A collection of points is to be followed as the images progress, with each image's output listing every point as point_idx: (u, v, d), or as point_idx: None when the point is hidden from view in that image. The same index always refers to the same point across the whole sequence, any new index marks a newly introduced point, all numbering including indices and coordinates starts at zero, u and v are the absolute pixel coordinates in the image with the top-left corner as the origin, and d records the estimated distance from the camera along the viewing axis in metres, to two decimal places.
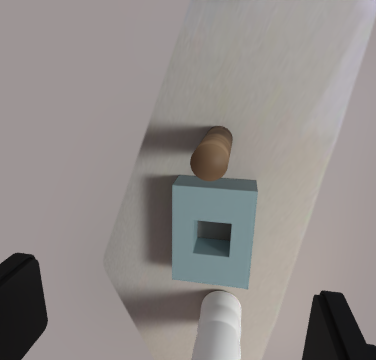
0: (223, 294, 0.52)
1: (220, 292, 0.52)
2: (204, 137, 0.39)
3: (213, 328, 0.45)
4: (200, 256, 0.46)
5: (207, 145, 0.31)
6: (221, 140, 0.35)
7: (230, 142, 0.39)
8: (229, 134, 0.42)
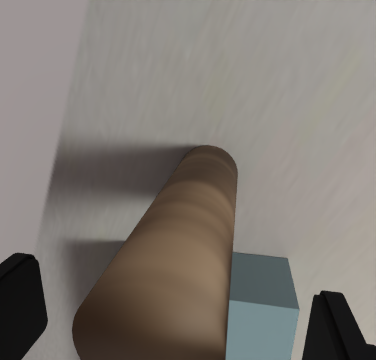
0: None
1: None
2: (163, 188, 0.14)
3: None
4: None
5: (134, 286, 0.07)
6: (205, 219, 0.11)
7: (233, 197, 0.15)
8: (231, 168, 0.18)
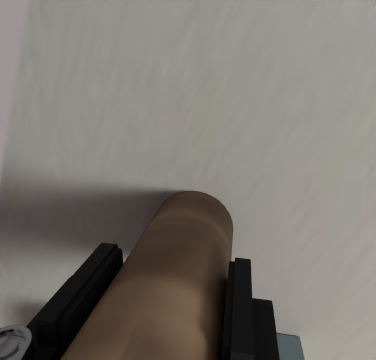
0: None
1: None
2: (114, 280, 0.09)
3: None
4: None
5: None
6: None
7: (225, 287, 0.10)
8: (223, 230, 0.13)
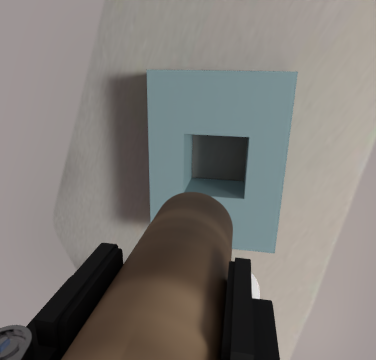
0: None
1: None
2: (114, 282, 0.09)
3: None
4: None
5: None
6: None
7: (225, 288, 0.10)
8: (223, 230, 0.13)
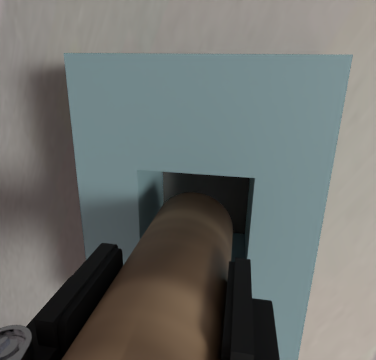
0: None
1: None
2: (114, 282, 0.09)
3: None
4: None
5: None
6: None
7: (225, 289, 0.10)
8: (223, 231, 0.13)
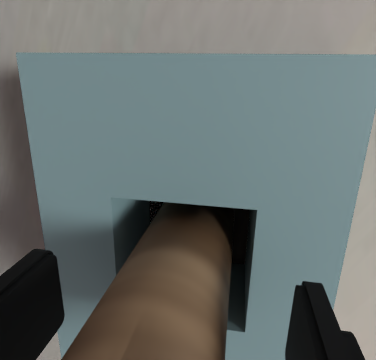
0: None
1: None
2: (132, 253, 0.10)
3: None
4: None
5: None
6: (180, 333, 0.07)
7: (228, 262, 0.11)
8: (225, 215, 0.14)
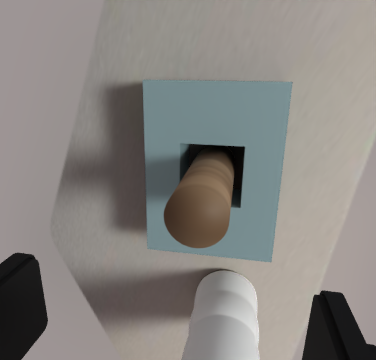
0: (229, 275, 0.33)
1: (224, 272, 0.34)
2: (192, 164, 0.25)
3: (214, 326, 0.26)
4: None
5: (192, 188, 0.18)
6: (218, 173, 0.21)
7: (232, 170, 0.26)
8: (231, 156, 0.28)
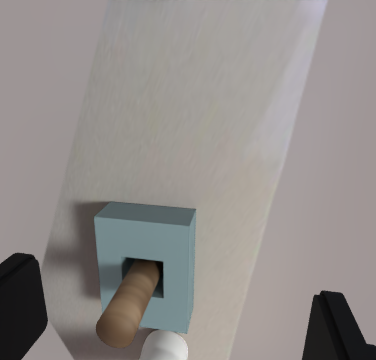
0: (166, 334, 0.45)
1: (163, 332, 0.46)
2: (127, 274, 0.37)
3: None
4: None
5: (111, 316, 0.30)
6: (136, 292, 0.33)
7: (156, 276, 0.38)
8: None
